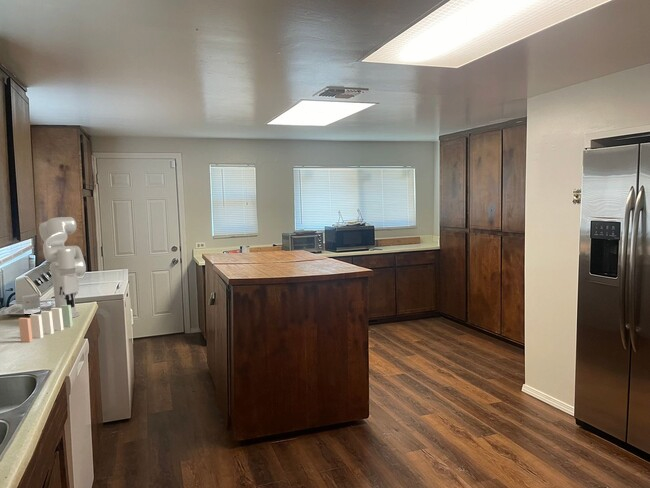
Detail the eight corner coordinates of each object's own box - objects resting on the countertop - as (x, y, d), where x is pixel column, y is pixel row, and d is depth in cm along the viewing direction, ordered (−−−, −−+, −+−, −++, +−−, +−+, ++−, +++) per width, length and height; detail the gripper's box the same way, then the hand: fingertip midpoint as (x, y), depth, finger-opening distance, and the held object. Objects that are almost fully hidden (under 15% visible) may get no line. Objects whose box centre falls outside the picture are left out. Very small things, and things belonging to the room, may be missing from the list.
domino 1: (23, 340, 224) (21, 317, 223) (32, 341, 223) (30, 318, 222) (21, 341, 223) (18, 318, 222) (29, 342, 222) (27, 318, 220)
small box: (38, 311, 283) (36, 293, 282) (41, 312, 279) (39, 294, 278) (22, 314, 277) (20, 296, 276) (25, 315, 273) (23, 297, 272)
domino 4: (55, 329, 242) (53, 307, 241) (63, 329, 241) (61, 308, 240) (52, 330, 241) (50, 308, 239) (61, 330, 239) (58, 308, 238)
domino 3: (45, 332, 236) (43, 310, 235) (53, 333, 235) (51, 311, 234) (42, 333, 235) (40, 311, 234) (51, 334, 233) (48, 312, 232)
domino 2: (34, 336, 230) (32, 314, 229) (43, 337, 229) (41, 314, 228) (32, 337, 229) (29, 315, 228) (40, 338, 228) (38, 315, 226)
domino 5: (64, 325, 248) (62, 304, 247) (72, 326, 247) (70, 305, 246) (62, 326, 247) (60, 305, 245) (70, 327, 245) (68, 305, 244)
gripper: (71, 269, 255) (75, 303, 257) (49, 274, 240) (53, 310, 242) (84, 269, 253) (87, 303, 255) (62, 274, 239) (66, 310, 240)
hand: (70, 307), depth 249 cm, fingers closed
